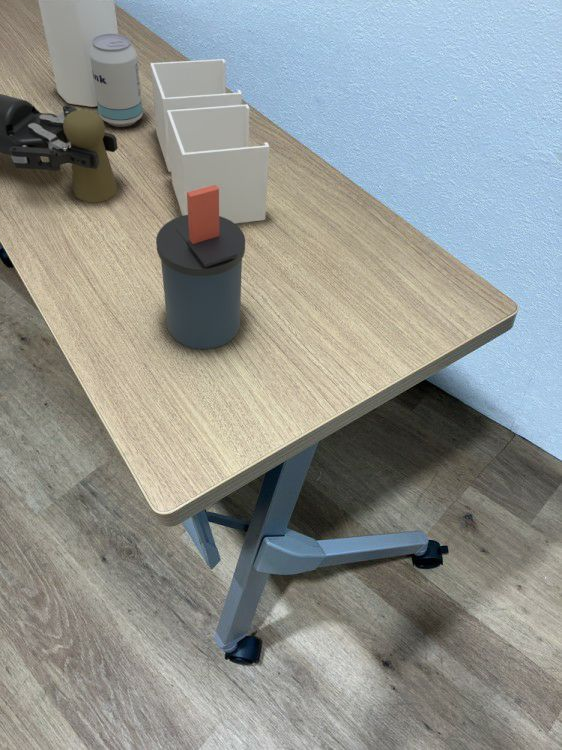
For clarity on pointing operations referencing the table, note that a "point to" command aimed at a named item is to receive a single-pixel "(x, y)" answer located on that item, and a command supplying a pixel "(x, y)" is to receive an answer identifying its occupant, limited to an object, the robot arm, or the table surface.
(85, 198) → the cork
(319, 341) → the table surface
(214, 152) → the storage container
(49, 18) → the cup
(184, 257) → the travel cup
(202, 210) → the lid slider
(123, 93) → the beverage can
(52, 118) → the robot arm
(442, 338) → the table surface
